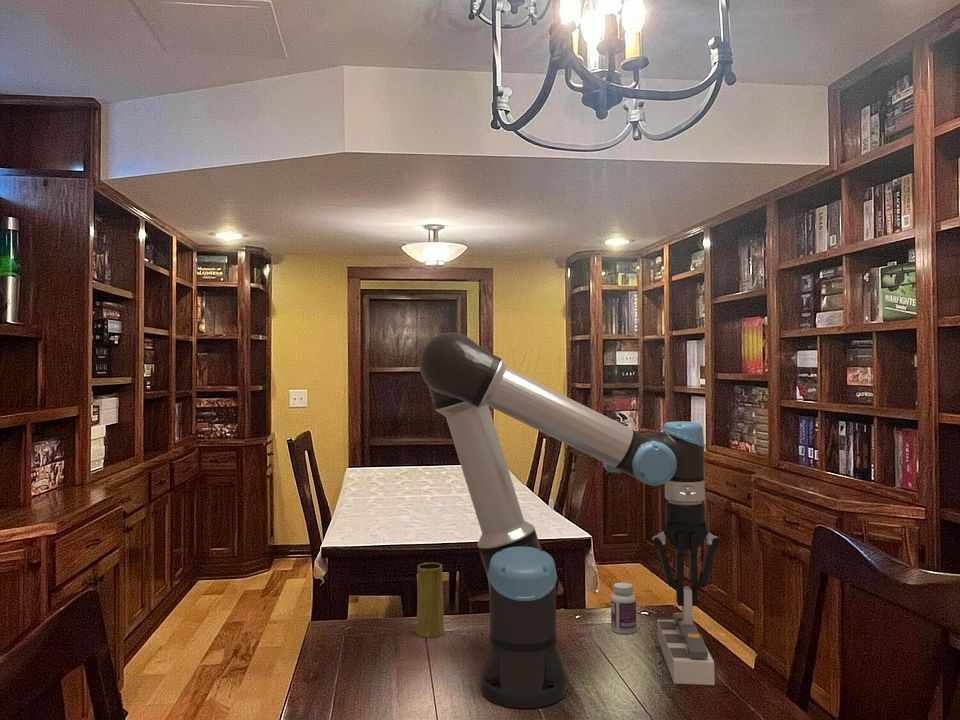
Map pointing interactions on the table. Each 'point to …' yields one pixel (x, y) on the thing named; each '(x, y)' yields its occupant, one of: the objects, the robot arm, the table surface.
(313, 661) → the table surface
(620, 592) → the pill bottle
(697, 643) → the block
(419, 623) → the vase
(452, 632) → the table surface
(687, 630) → the rocker
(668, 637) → the power strip
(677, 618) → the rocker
